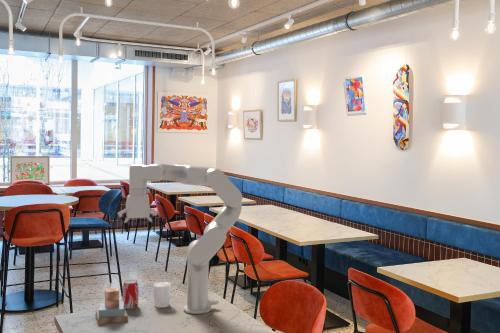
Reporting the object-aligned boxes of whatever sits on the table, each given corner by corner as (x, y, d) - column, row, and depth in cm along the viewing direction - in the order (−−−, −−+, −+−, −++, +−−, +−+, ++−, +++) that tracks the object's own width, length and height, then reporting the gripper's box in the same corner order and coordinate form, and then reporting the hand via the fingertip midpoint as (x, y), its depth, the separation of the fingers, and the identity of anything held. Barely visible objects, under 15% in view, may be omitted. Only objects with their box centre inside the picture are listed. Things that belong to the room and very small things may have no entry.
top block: (123, 308, 229) (123, 301, 229) (123, 316, 220) (123, 309, 219) (100, 309, 227) (100, 302, 227) (98, 317, 217) (98, 310, 217)
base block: (123, 313, 231) (123, 307, 231) (127, 322, 220) (127, 315, 220) (95, 316, 227) (95, 309, 227) (98, 326, 216) (98, 319, 215)
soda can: (134, 310, 234) (134, 284, 233) (119, 309, 235) (120, 282, 235) (140, 305, 241) (141, 279, 240) (126, 304, 242) (126, 278, 242)
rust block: (116, 303, 226) (116, 287, 226) (119, 306, 222) (119, 290, 221) (104, 305, 224) (104, 289, 224) (107, 308, 220) (107, 292, 219)
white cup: (174, 304, 243) (174, 283, 242) (162, 309, 236) (162, 287, 235) (161, 301, 247) (161, 281, 246) (149, 306, 240) (149, 284, 240)
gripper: (156, 191, 236) (155, 228, 237) (116, 191, 230) (116, 230, 231) (159, 192, 229) (159, 231, 230) (119, 193, 223) (118, 233, 224)
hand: (137, 230), depth 230 cm, fingers open, 9 cm apart
